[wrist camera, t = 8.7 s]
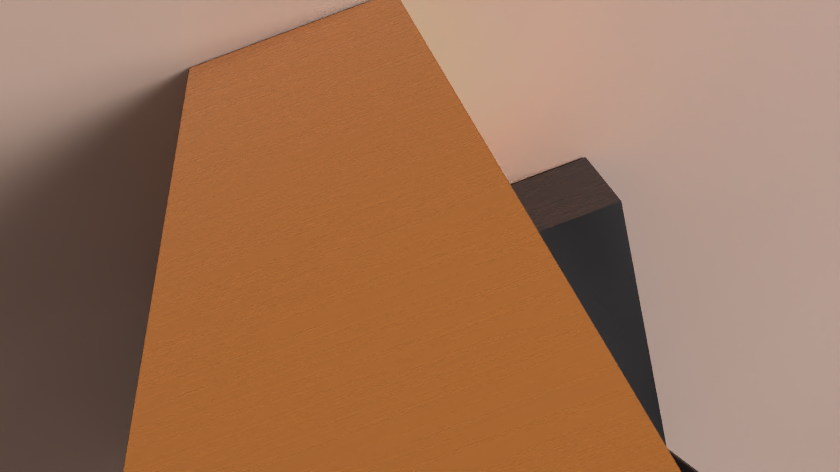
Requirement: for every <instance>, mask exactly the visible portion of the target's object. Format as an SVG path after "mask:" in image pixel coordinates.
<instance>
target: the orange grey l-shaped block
mask: <svg viewBox="0 0 840 472" xmlns="http://www.w3.org/2000/svg"><path fill="white" fill-rule="evenodd" d="M123 472H681V470H680V469H679V467H678V465H677V464H676V462H675V460H674V459H673V457H672V455H671V454H670V452H669V450H668V449H667V447H666V442H665V436H664V431H663V426H662V420H661V415H660V409H659V404H658V398H657V393H656V388H655V382H654V377H653V371H652V366H651V360H650V355H649V350H648V344H647V339H646V333H645V328H644V323H643V317H642V312H641V306H640V301H639V295H638V290H637V285H636V279H635V274H634V268H633V263H632V257H631V252H630V247H629V241H628V236H627V230H626V225H625V219H624V214H623V209H622V203H621V200H620V199H619V198H618V197H617V195H616V194H615V193H614V192H613V190H612V189H611V188H610V187H609V186H608V184H607V183H606V182H605V181H604V179H603V178H602V177H601V176H600V174H599V173H598V172H597V171H596V170H595V168H594V167H593V166H592V165H591V163H590V162H589V161H588V160H587V158H586V157H585V158H582V159H580V160H577V161H574V162H572V163H569V164H566V165H563V166H561V167H558V168H555V169H553V170H550V171H547V172H544V173H542V174H539V175H536V176H534V177H531V178H528V179H526V180H523V181H520V182H517V183H515V184H512V185H510V183H509V182H508V180H507V178H506V177H505V175H504V173H503V172H502V170H501V168H500V167H499V165H498V163H497V162H496V160H495V158H494V157H493V155H492V153H491V152H490V150H489V148H488V146H487V145H486V143H485V141H484V140H483V138H482V136H481V135H480V133H479V131H478V130H477V128H476V126H475V125H474V123H473V121H472V120H471V118H470V116H469V115H468V113H467V111H466V110H465V108H464V106H463V104H462V103H461V101H460V99H459V98H458V96H457V94H456V93H455V91H454V89H453V88H452V86H451V84H450V83H449V81H448V79H447V78H446V76H445V74H444V73H443V71H442V69H441V68H440V66H439V64H438V63H437V61H436V59H435V57H434V56H433V54H432V52H431V51H430V49H429V47H428V46H427V44H426V42H425V41H424V39H423V37H422V36H421V34H420V32H419V31H418V29H417V27H416V26H415V24H414V22H413V21H412V19H411V17H410V16H409V14H408V12H407V10H406V9H405V7H404V5H403V4H402V2H401V0H371V1H368V2H366V3H363V4H360V5H358V6H355V7H352V8H350V9H347V10H344V11H342V12H339V13H336V14H334V15H331V16H328V17H325V18H323V19H320V20H317V21H315V22H312V23H309V24H307V25H304V26H301V27H299V28H296V29H293V30H291V31H288V32H285V33H283V34H280V35H277V36H275V37H272V38H269V39H266V40H264V41H261V42H258V43H256V44H253V45H250V46H248V47H245V48H242V49H240V50H237V51H234V52H232V53H229V54H226V55H224V56H221V57H218V58H216V59H213V60H210V61H207V62H205V63H202V64H199V65H197V66H194V67H191V68H189V75H188V81H187V87H186V93H185V99H184V105H183V111H182V117H181V123H180V129H179V135H178V142H177V148H176V154H175V160H174V166H173V172H172V178H171V184H170V190H169V196H168V202H167V209H166V215H165V221H164V227H163V233H162V239H161V245H160V251H159V257H158V263H157V270H156V276H155V282H154V288H153V294H152V300H151V306H150V312H149V318H148V324H147V330H146V337H145V343H144V349H143V355H142V361H141V367H140V373H139V379H138V385H137V391H136V397H135V404H134V410H133V416H132V422H131V428H130V434H129V440H128V446H127V452H126V458H125V464H124V471H123Z"/></svg>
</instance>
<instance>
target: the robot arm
mask: <svg viewBox="0 0 840 472" xmlns="http://www.w3.org/2000/svg"><path fill="white" fill-rule="evenodd" d="M668 450H669V449H668ZM669 452H670V454H671V455H672V457H673V459H674V460H675V462H676V464H677V465H678V467H679V469H680V470H681V472H698V471H697V470H695V469H694V468H693V467H691V466H690V465H689V464H687V463H686V462H685V461H683V460H682V459H681V458H679V457H678V456H677V455H675V454H674V453H673V452H671V451H670V450H669Z"/></svg>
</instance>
